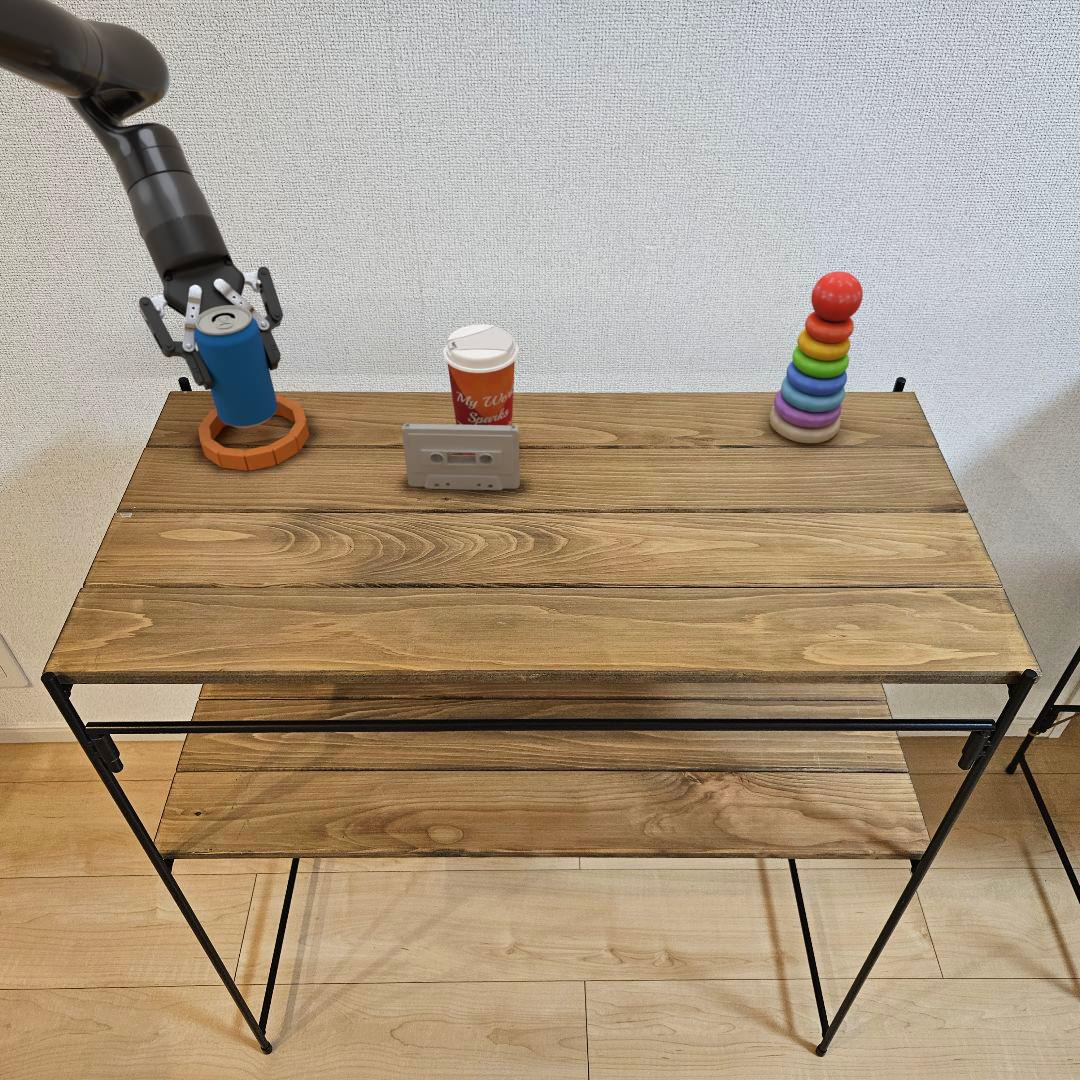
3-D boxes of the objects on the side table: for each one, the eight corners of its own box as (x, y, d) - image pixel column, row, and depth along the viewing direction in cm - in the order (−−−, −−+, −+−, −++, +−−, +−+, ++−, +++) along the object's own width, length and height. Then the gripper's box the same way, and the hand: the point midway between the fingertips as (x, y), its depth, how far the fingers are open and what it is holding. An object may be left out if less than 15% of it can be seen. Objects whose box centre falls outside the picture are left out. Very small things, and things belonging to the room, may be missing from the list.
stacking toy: (845, 447, 100) (890, 295, 87) (774, 446, 100) (809, 294, 87) (830, 407, 106) (870, 258, 93) (762, 406, 106) (794, 257, 93)
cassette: (407, 489, 95) (399, 431, 89) (409, 478, 96) (402, 420, 91) (519, 491, 94) (518, 433, 89) (520, 480, 96) (519, 422, 90)
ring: (208, 479, 96) (203, 465, 94) (199, 419, 104) (195, 405, 102) (315, 457, 99) (312, 442, 97) (299, 400, 107) (296, 386, 105)
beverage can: (274, 393, 102) (251, 298, 94) (283, 425, 98) (260, 328, 89) (216, 405, 100) (187, 309, 92) (223, 437, 96) (193, 340, 88)
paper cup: (458, 477, 96) (450, 366, 86) (445, 436, 101) (435, 327, 92) (528, 465, 98) (527, 354, 88) (511, 425, 103) (509, 317, 93)
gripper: (106, 230, 87) (175, 389, 88) (248, 198, 92) (312, 347, 93) (110, 259, 94) (174, 407, 95) (243, 228, 99) (302, 367, 100)
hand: (242, 377), depth 94 cm, fingers closed on beverage can, 6 cm apart
